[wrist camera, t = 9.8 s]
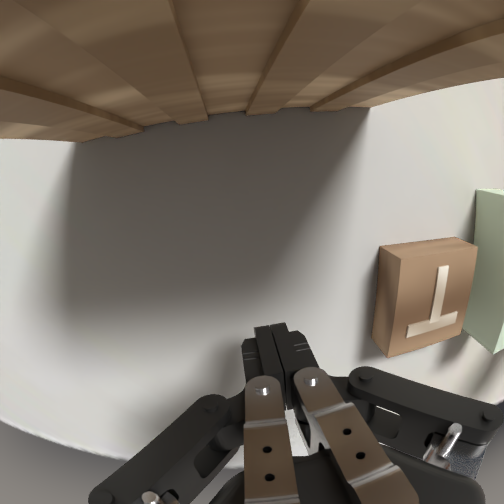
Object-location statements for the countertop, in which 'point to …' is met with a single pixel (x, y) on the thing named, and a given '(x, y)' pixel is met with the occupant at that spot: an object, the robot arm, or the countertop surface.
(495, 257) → the block
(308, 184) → the countertop surface
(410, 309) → the tile
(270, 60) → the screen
